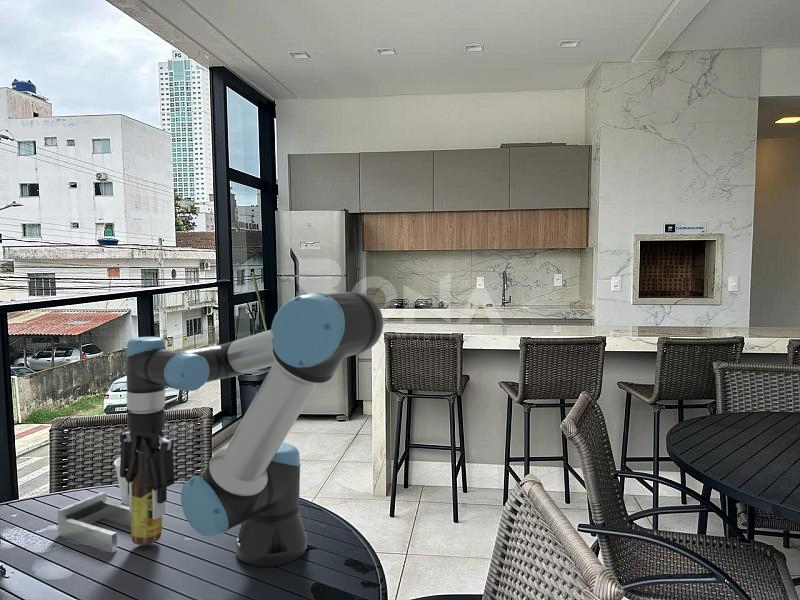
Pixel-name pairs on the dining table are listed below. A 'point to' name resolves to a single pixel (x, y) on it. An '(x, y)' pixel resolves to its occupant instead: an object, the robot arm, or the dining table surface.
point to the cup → (122, 483)
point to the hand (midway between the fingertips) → (147, 512)
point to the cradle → (90, 510)
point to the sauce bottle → (144, 505)
